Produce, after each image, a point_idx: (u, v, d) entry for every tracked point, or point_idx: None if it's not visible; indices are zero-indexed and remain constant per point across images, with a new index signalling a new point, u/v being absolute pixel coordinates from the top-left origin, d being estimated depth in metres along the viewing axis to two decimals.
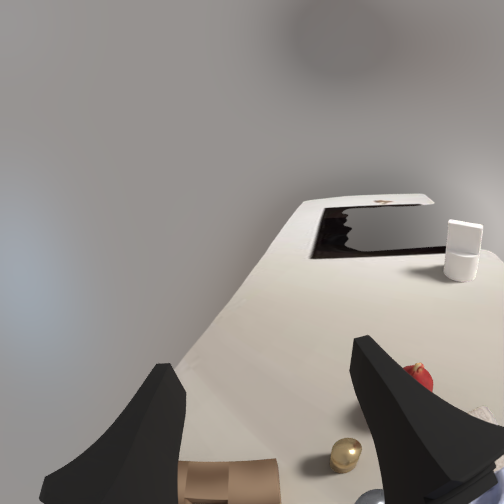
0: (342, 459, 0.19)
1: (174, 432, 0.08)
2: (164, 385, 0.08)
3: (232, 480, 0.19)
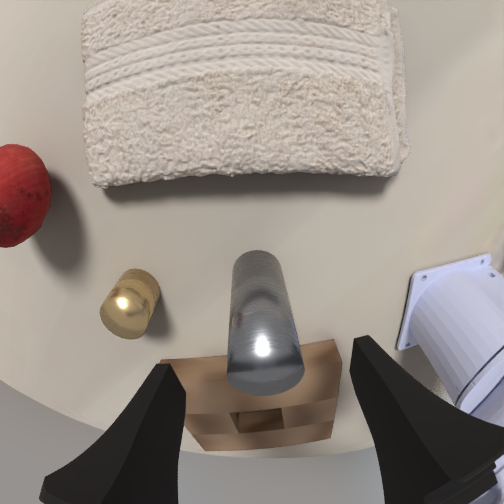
0: (140, 327, 0.14)
1: (174, 432, 0.08)
2: (163, 385, 0.08)
3: (200, 411, 0.20)
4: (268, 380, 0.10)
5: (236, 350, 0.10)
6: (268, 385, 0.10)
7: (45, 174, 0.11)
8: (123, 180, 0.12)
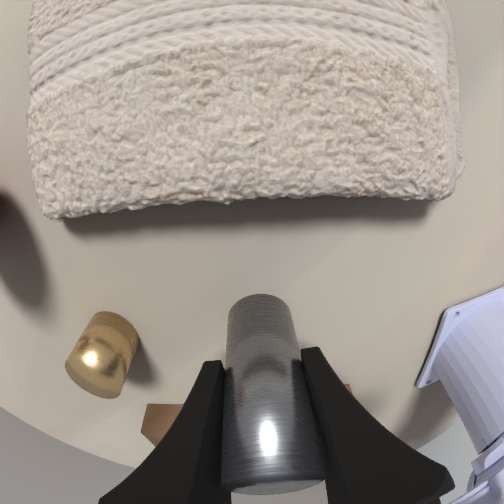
0: (114, 389, 0.10)
1: None
2: (218, 383, 0.08)
3: None
4: (276, 487, 0.06)
5: (233, 465, 0.05)
6: (276, 490, 0.06)
7: None
8: (76, 211, 0.08)
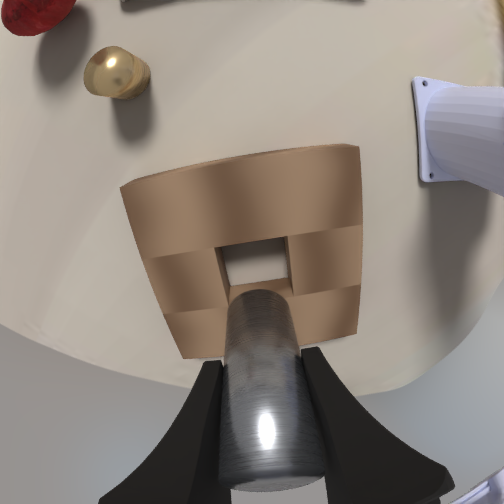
0: (122, 73, 0.11)
1: None
2: (218, 384, 0.08)
3: (174, 248, 0.16)
4: (275, 483, 0.06)
5: (232, 459, 0.05)
6: (274, 486, 0.06)
7: None
8: None
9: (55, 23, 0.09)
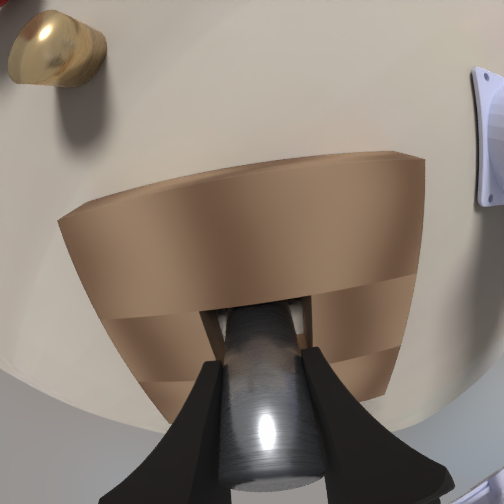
0: (52, 45, 0.05)
1: None
2: (218, 384, 0.08)
3: (141, 309, 0.10)
4: (275, 484, 0.06)
5: (232, 459, 0.05)
6: (274, 486, 0.06)
7: None
8: None
9: None
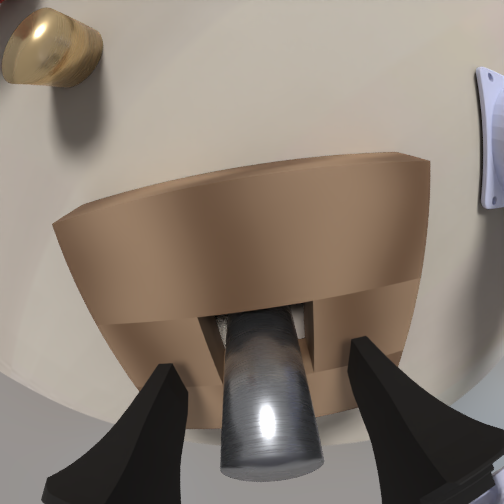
0: (46, 43, 0.04)
1: (176, 432, 0.08)
2: (166, 385, 0.08)
3: (138, 314, 0.10)
4: (275, 472, 0.06)
5: (234, 446, 0.06)
6: (274, 476, 0.06)
7: None
8: None
9: None
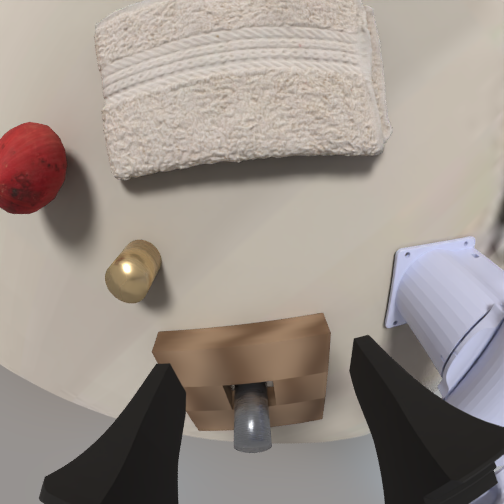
0: (142, 290, 0.16)
1: (174, 432, 0.08)
2: (164, 385, 0.08)
3: (195, 384, 0.21)
4: (254, 448, 0.18)
5: (239, 437, 0.17)
6: (254, 449, 0.18)
7: (63, 149, 0.13)
8: (143, 171, 0.14)
9: None
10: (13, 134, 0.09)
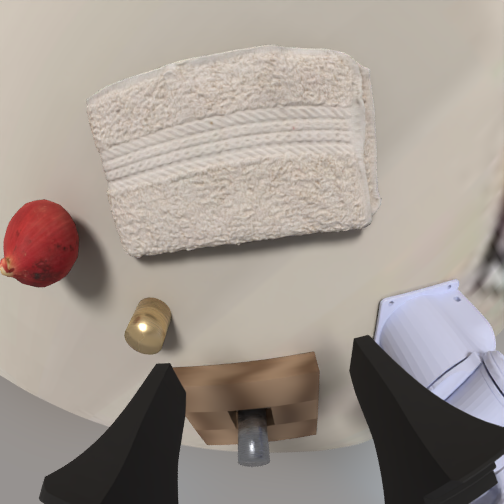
0: (157, 346, 0.18)
1: (174, 432, 0.08)
2: (164, 386, 0.08)
3: (203, 410, 0.24)
4: (255, 463, 0.20)
5: (242, 455, 0.20)
6: (255, 464, 0.20)
7: (74, 227, 0.15)
8: (153, 252, 0.17)
9: None
10: (25, 220, 0.12)
